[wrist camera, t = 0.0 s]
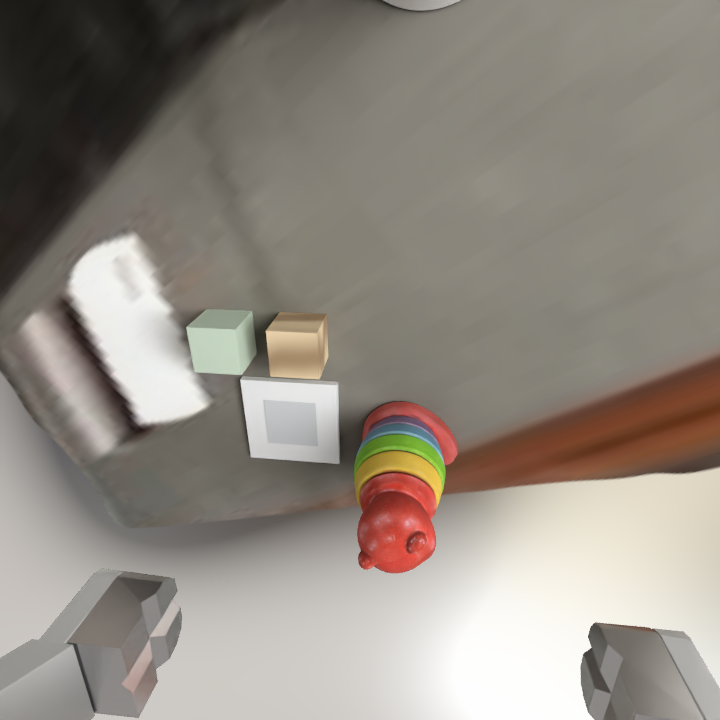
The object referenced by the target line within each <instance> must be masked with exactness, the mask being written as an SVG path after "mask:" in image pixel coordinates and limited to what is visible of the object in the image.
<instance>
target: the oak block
mask: <svg viewBox="0 0 720 720" xmlns="http://www.w3.org/2000/svg"><path fill="white" fill-rule="evenodd" d="M266 338H267V348H268V357H269V367H270V376H271V377H288V378H305V379H320V376H321V374H322V371H323V369H324V366H325V364H326V361H327V359H328V337H327V314H313V313H289V312H279V314H278V315H277V316H276V318H275V319H274V320H273V322H272V323H271V324H270V326H269V327H268V329H267V330H266Z"/></svg>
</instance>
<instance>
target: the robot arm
mask: <svg viewBox="0 0 720 720" xmlns="http://www.w3.org/2000/svg"><path fill="white" fill-rule="evenodd" d="M383 1H385V2H387V3H389V4H391V5H394V6H397V7H400V8H404V9H409V10H433V9H439V8H442V7H446V6H449V5H452V4H454V3H456V2H458V1H460V0H383ZM176 593H177V587H176V583H175V579H174V578H170V577H162V576H155V575H148V574H141V573H133V572H126V571H116V570H109V569H101V570H99V571H98V572H96V573H94V574H93V575H92V576H91V578H90V579H89V580H88V581H87V583H86V584H85V585H84V586H83V587H82V588H81V590H80V591H79V592H78V593H77V595H76V596H75V597H74V598H73V599H72V601H71V602H70V603H69V604H68V605H67V607H66V608H65V609H64V611H63V612H62V613H61V614H60V615H59V617H58V618H57V619H56V620H55V621H54V622H53V624H52V625H51V626H50V628H48V630H47V631H46V632H45V633H44V635H43V636H42V637H41V638H40V639H39V640H33V639H32V640H30V641H28V642H26V643H25V644H23V645H21V646H20V647H18V648H16V649H15V650H13V651H11V652H10V653H8V654H6V655H5V656H3V657H1V658H0V720H91V719H92V718H93V717H94V716H95V714H94V713H99V714H108V715H117V716H127V717H135V718H138V717H139V716H140V714H141V712H142V710H143V708H144V706H145V705H146V703H147V701H148V699H149V697H150V695H151V693H152V691H153V689H154V687H155V685H156V684H157V674H156V669H157V668H158V667H159V666H161V665H162V664H163V663H165V662H166V661H167V660H168V659H169V658H170V657H171V654H172V653H173V651H174V648H175V646H176V644H177V641H178V638H179V634H180V630H181V623H182V622H181V621H182V614H181V608H180V606H179V605H178V604H177V603H176V602H175V601H174V600H173V598H174V596H175V594H176ZM588 638H589V641H590V644H591V647H592V648H591V649H590V650H588V651H587V652H585V653H584V654H583V658H582V663H581V686H582V691H583V696H584V700H585V703H586V706H587V710H588V713H589V714H590V715H591V716H592V717H593V718H594V719H595V720H720V688H719V686H718V685H717V683H716V681H715V680H714V678H713V676H712V675H711V673H710V671H709V669H708V668H707V666H706V664H705V663H704V661H703V659H702V658H701V656H700V654H699V652H698V651H697V649H696V648H695V646H694V644H693V642H692V641H691V639H690V637H688V636H687V635H686V634H685V633H684V632H680V631H671V630H662V629H651V628H647V627H646V628H645V627H636V626H626V625H625V626H624V625H614V624H604V623H594V624H593V625H592V626H591V628H590V631H589V635H588Z"/></svg>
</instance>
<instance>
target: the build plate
mask: <svg viewBox="0 0 720 720" xmlns="http://www.w3.org/2000/svg"><path fill="white" fill-rule="evenodd" d="M240 382H241V389H242V396H243V403H244V411H245V418H246V425H247V432H248V439H249V446H250V453H251V457H254V458H267V459H280V460H293V461H306V462H319V463H332V464H339V463H340V432H339V398H338V382H335V381H318V380H300V379H283V378H265V377H248V376H242V378H241V379H240Z"/></svg>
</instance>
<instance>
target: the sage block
mask: <svg viewBox="0 0 720 720" xmlns="http://www.w3.org/2000/svg"><path fill="white" fill-rule="evenodd" d="M186 329H187V335H188V340H189V345H190V350H191V356H192V361H193V366H194V372H200V373H218V374H235V375H242V374H243V372H244V371H245V370H246V368H247V367H248V365H249V364H250V362H251V361H252V360H253V358H254V357H255V355H256V354H257V349H256V341H255V332H254V324H253V315H252V311H241V310H217V309H206V310H205V311H204V312H203V313H202V314H201V315H199V316H198V317H197V318H196V319H195V320H194V321H193V322H192V323H190V324H189V325H188V326H187V327H186Z"/></svg>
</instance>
